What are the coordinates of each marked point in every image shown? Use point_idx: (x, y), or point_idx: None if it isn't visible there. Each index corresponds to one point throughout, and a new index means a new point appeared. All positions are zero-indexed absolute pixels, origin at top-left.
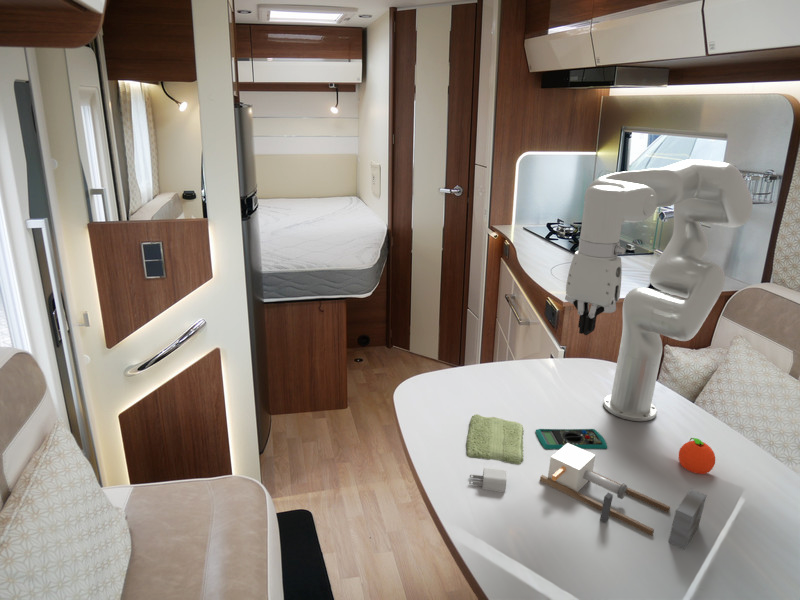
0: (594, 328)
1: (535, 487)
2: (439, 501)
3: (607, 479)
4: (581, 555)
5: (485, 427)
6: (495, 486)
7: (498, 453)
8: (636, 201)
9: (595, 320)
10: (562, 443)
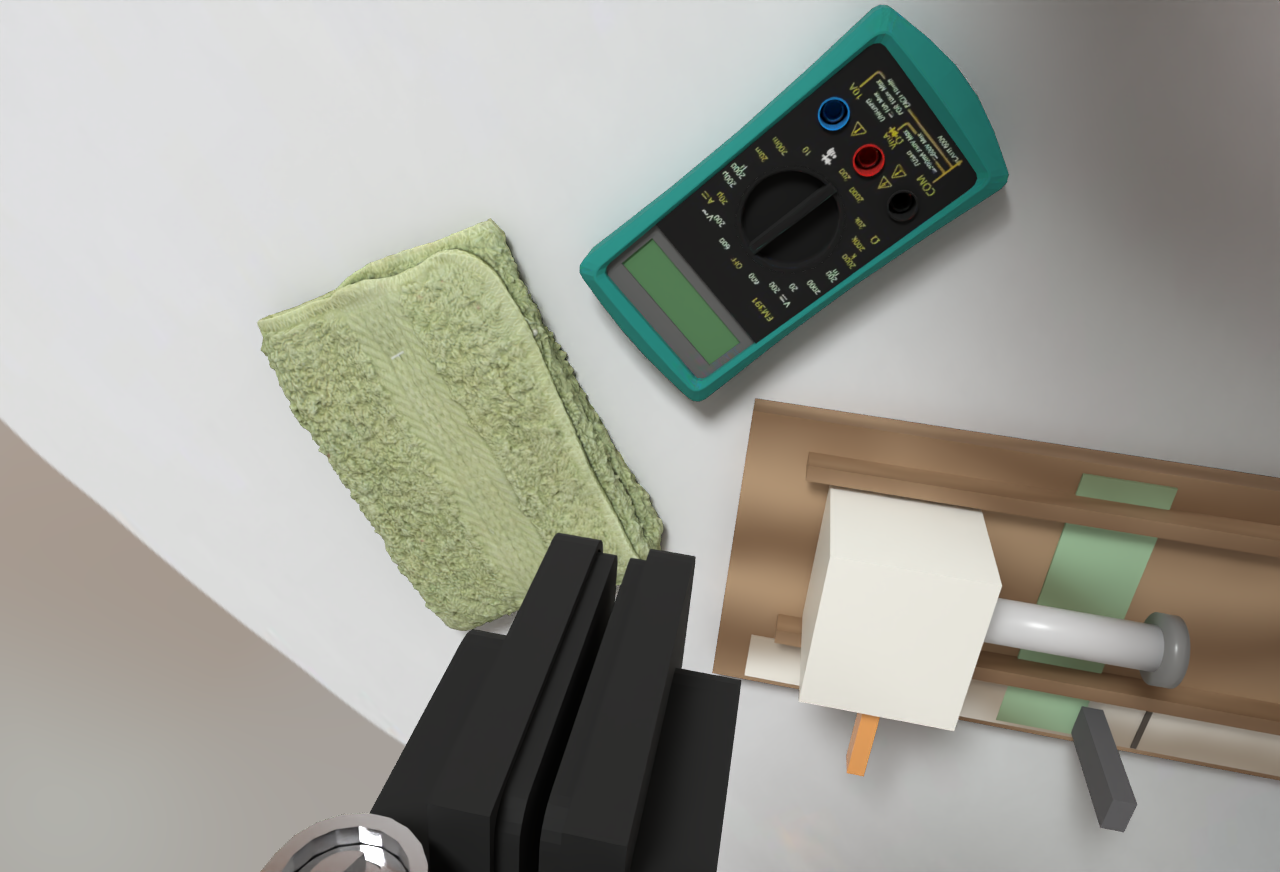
0: (738, 691)
1: None
2: None
3: (1085, 645)
4: (1030, 841)
5: (380, 429)
6: None
7: None
8: None
9: (716, 848)
10: (760, 322)
